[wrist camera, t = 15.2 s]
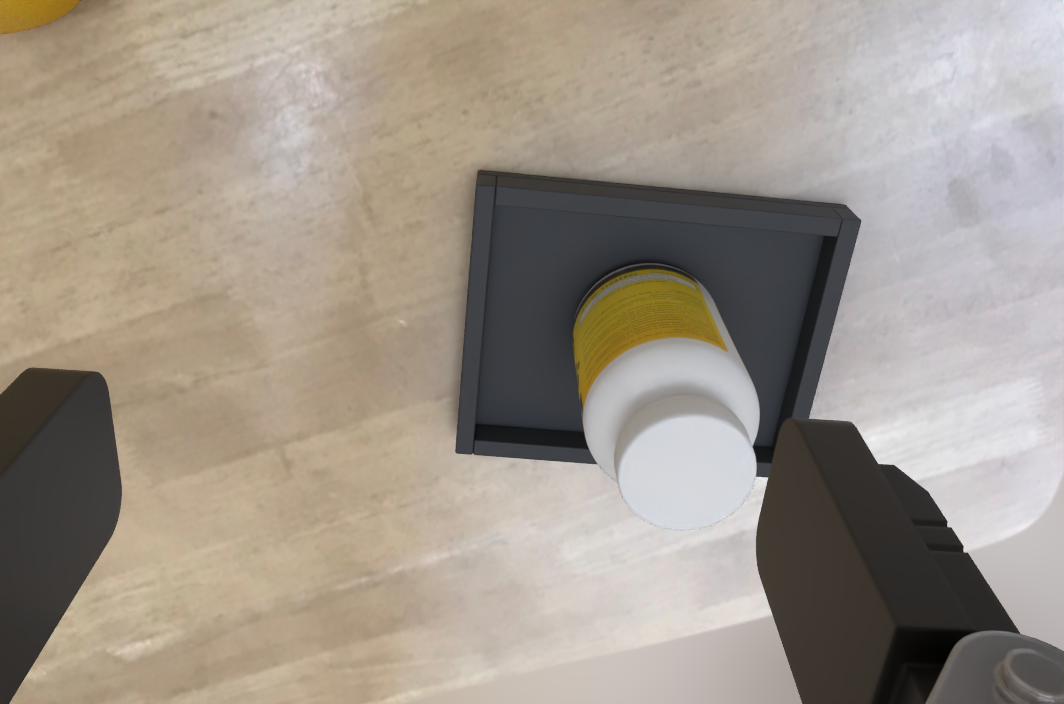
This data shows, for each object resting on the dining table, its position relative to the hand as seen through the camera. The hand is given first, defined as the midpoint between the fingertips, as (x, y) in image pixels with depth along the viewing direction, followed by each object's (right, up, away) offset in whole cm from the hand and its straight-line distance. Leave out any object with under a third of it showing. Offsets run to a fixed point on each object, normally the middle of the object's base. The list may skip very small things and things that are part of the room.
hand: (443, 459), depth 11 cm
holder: (+6, +3, +31) cm, 32 cm away
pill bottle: (+6, +3, +31) cm, 32 cm away
